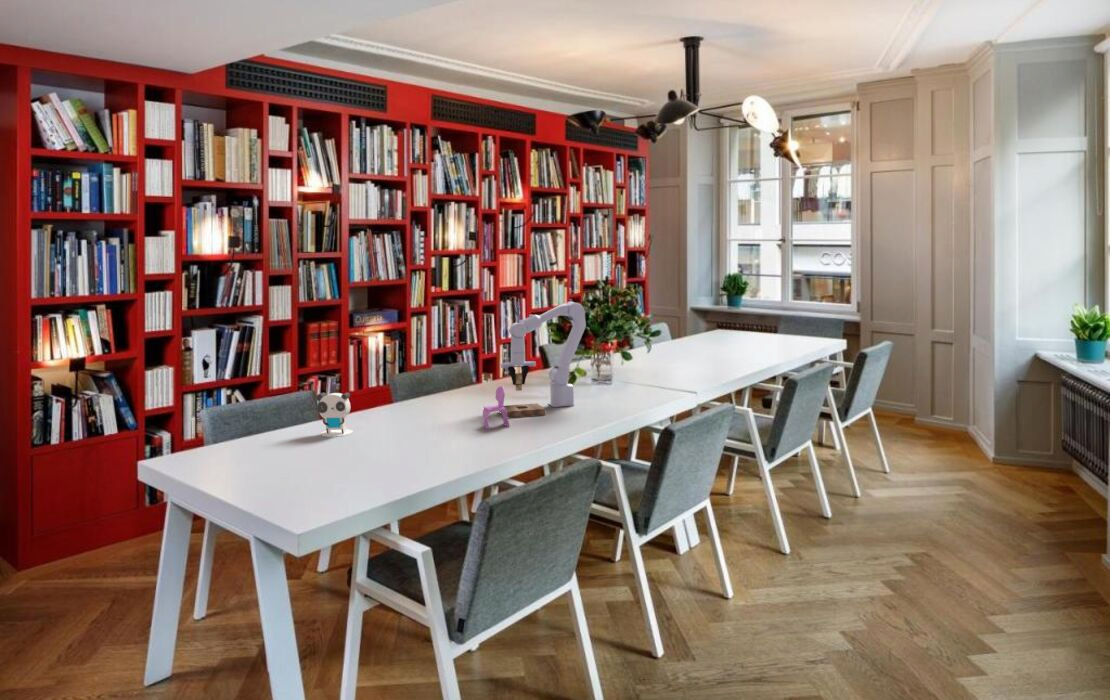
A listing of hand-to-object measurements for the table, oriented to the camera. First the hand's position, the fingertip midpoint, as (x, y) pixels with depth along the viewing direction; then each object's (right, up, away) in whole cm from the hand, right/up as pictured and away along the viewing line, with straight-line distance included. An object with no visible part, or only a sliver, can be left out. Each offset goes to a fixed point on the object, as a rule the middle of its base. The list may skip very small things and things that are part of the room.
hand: (518, 384), depth 339 cm
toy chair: (-7, -15, -33) cm, 36 cm away
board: (+2, -11, -10) cm, 15 cm away
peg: (0, -2, 0) cm, 2 cm away
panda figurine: (-65, -17, -40) cm, 78 cm away
